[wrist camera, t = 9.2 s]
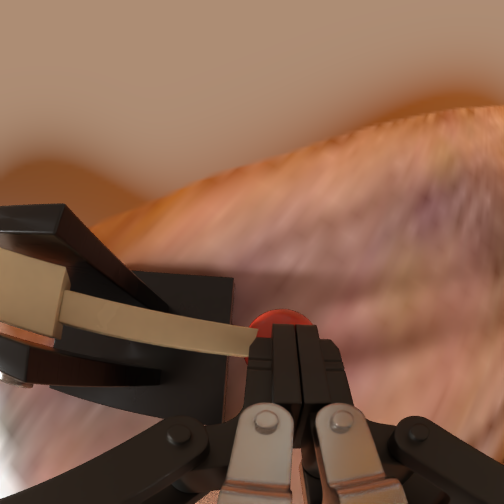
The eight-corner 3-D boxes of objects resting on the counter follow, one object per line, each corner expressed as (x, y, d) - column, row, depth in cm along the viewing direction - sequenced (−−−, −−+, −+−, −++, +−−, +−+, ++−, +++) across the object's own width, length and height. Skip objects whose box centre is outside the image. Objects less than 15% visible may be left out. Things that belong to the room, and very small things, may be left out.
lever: (291, 319, 15) (336, 308, 12) (288, 383, 14) (334, 385, 11) (15, 256, 9) (-6, 225, 7) (-2, 334, 8) (-32, 326, 5)
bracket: (234, 283, 20) (205, 141, 8) (223, 423, 16) (162, 506, 4) (77, 270, 20) (-39, 171, 8) (58, 388, 17) (-91, 365, 5)
